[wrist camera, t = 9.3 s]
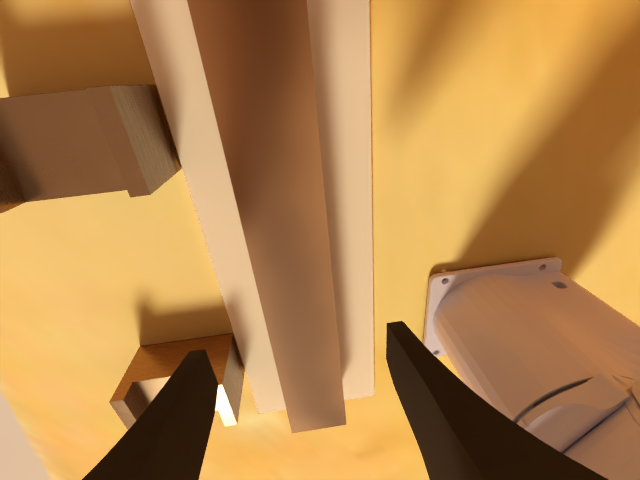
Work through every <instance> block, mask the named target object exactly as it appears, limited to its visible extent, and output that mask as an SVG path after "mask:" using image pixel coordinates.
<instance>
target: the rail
mask: <svg viewBox="0 0 640 480" xmlns="http://www.w3.org/2000/svg"><path fill="white" fill-rule="evenodd" d="M187 3H188V7H189V11H190V15H191V19H192V23H193V27H194V31H195V36H196V40H197V44H198V48H199V52H200V56H201V60H202V64H203V68H204V73H205V77H206V81H207V85H208V89H209V93H210V97H211V101H212V105H213V109H214V114H215V118H216V122H217V126H218V130H219V134H220V138H221V142H222V146H223V151H224V155H225V159H226V163H227V167H228V171H229V175H230V179H231V183H232V188H233V192H234V196H235V200H236V204H237V208H238V212H239V216H240V220H241V225H242V229H243V233H244V237H245V241H246V245H247V249H248V253H249V257H250V262H251V266H252V270H253V274H254V278H255V282H256V286H257V290H258V294H259V299H260V303H261V307H262V311H263V315H264V319H265V323H266V327H267V331H268V336H269V340H270V344H271V348H272V352H273V356H274V360H275V364H276V368H277V372H278V377H279V381H280V385H281V389H282V393H283V397H284V401H285V405H286V409H287V414H288V418H289V422H290V426H291V430H292V433H297V432H303V431H309V430H315V429H321V428H328V427H334V426H340V425H346V416H345V405H344V394H343V384H342V373H341V362H340V351H339V341H338V330H337V319H336V309H335V298H334V287H333V277H332V266H331V255H330V245H329V234H328V223H327V213H326V202H325V191H324V181H323V170H322V159H321V149H320V138H319V127H318V117H317V106H316V95H315V85H314V74H313V63H312V53H311V42H310V31H309V21H308V10H307V0H187Z"/></svg>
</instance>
